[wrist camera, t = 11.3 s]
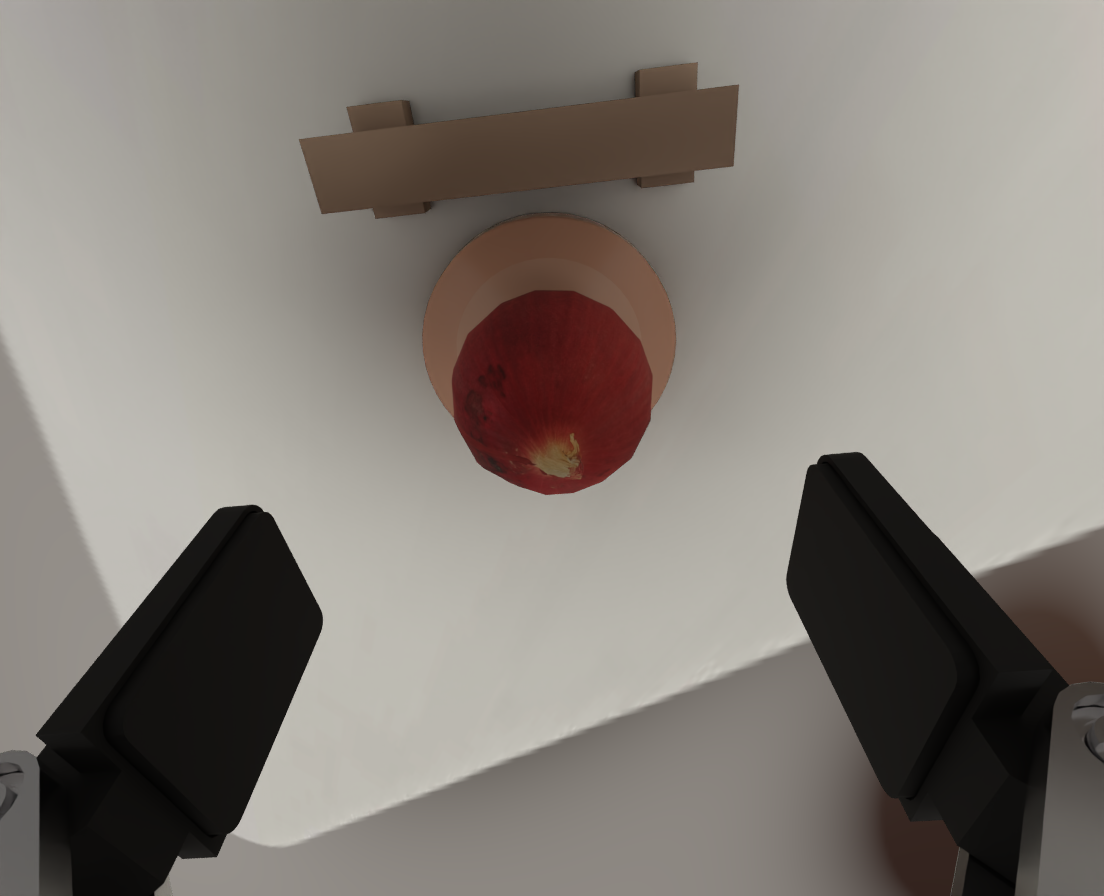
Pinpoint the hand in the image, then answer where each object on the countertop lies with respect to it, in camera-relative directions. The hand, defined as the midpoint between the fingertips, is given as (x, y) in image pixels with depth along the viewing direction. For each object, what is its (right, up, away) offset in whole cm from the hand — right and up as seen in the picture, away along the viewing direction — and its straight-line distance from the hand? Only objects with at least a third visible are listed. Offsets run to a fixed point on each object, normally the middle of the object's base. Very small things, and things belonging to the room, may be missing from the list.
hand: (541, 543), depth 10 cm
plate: (0, +6, +10) cm, 12 cm away
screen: (-1, +11, +7) cm, 13 cm away
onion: (0, +5, +9) cm, 11 cm away
